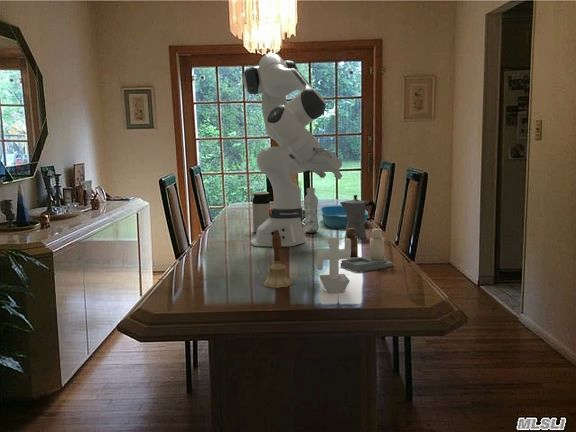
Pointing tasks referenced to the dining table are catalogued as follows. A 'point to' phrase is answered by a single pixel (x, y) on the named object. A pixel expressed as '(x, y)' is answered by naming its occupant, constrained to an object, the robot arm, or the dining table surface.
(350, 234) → the pepper mill
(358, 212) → the coffeepot
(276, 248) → the hand bell
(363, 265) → the cruet stand
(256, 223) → the travel mug
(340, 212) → the casserole dish
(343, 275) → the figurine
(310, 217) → the plastic bottle
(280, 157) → the robot arm
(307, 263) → the dining table surface
